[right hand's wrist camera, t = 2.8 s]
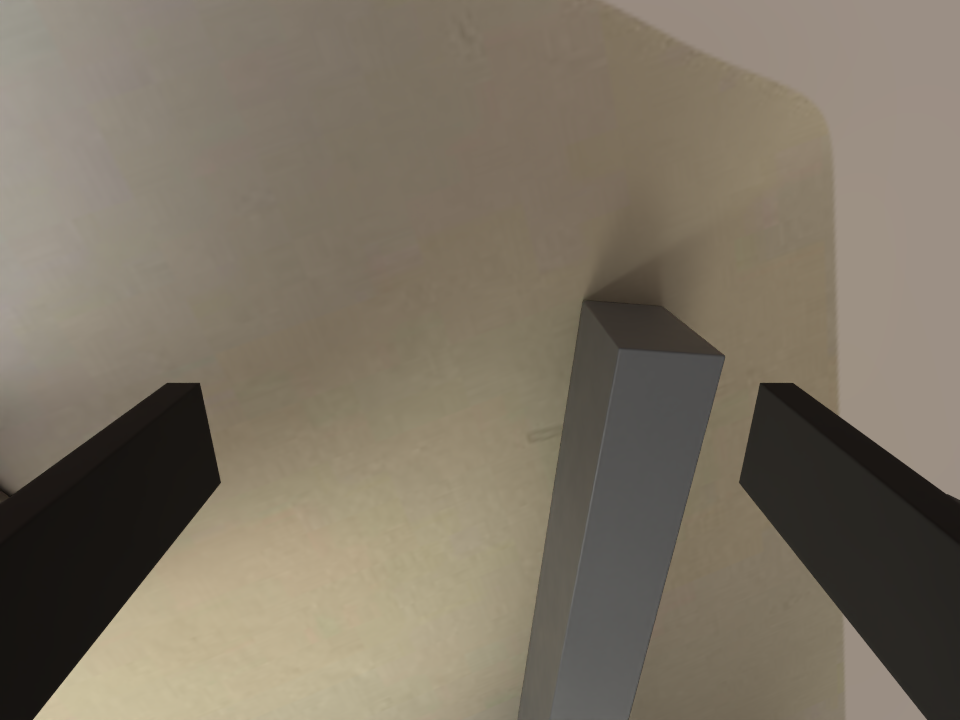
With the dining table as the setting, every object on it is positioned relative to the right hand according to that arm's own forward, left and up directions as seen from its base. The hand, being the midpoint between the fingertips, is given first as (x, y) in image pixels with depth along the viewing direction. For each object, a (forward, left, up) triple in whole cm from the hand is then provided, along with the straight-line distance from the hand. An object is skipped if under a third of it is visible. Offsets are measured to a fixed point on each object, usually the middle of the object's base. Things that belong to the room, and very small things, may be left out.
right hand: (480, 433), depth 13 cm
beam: (-24, -13, -17) cm, 32 cm away
